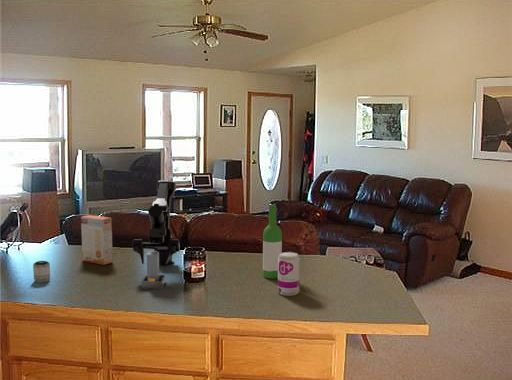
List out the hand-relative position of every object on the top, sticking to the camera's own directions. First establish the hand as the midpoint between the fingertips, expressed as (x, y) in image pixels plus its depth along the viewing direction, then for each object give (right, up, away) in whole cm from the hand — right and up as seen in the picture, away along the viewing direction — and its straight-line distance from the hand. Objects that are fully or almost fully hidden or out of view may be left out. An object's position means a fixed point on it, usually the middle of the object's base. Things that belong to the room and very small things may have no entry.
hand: (154, 263), depth 228 cm
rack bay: (0, -8, -2) cm, 8 cm away
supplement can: (+53, -10, -11) cm, 55 cm away
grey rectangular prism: (0, -8, -2) cm, 9 cm away
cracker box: (-32, -4, +33) cm, 46 cm away
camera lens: (-46, -8, +3) cm, 47 cm away
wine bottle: (+47, -7, +11) cm, 49 cm away
